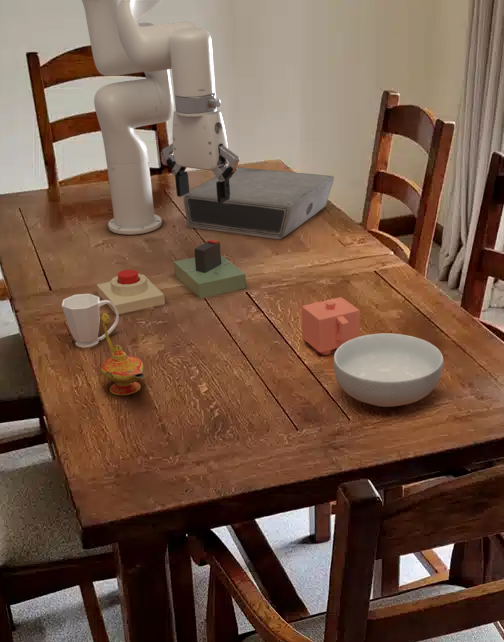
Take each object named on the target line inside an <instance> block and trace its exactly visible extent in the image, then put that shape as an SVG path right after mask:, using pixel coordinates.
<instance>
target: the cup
mask: <svg viewBox="0 0 504 642" xmlns="http://www.w3.org/2000/svg"><path fill="white" fill-rule="evenodd" d="M100 298H101V297H100V296H99V295H94V294H92V293H81V294H80V293H77V294H73V295H71V296H68V297H66V298H64V299H62V302H61V308H62V312H63V315H64V317H65V320H66V323H67V327H68V329H69V331H70V334H71V336H72V338H73V340H74V341H75V343H74V344H75V346H77V347H79V348H92V347H95V346H96V345H98V344H99V341H102V340H104V339H106V336H105V333H103V334H102V335H101V336H99V332H100V320H101V319H100V318H101V317H100V315H101V314H100V313H101V312H100V307H102V306H104V305H107V303H109V304H111V305H112V306H113V307H114V309H115V312H116V314H115V320H114V322H113V323H112V325H111V326H110V327H109V328H108V329H107V332H108V334H109V335H110V334H112V332H113V331H114V330H115V329H116V327H117V326H118V325H119V321H120V316H119V315H120V314H118V311H117V308H116V306H115V305H114V304H113V303H112V302H110V301H108V300H103V299H102V300H100Z"/></svg>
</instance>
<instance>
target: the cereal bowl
mask: <svg viewBox="0 0 504 642" xmlns="http://www.w3.org/2000/svg"><path fill="white" fill-rule="evenodd" d="M443 366H444V356H443V353H442V351H440V349H439V348H438V347H437V346H435V345H434V344H433V343H431V342H429V341H427V340H425V339H422V338H420V337H416V336H412V335H408V334H403V333H402V334H401V333H394V332H393V333H389V332H388V333H386V332H383V333H371V334H365V335H361V336H360V337H357V338H354V339H351V340H349V341H347V342H345V343H343V344H342V345H341V346H340V347H339V348H336V350H335V351H334V355H333V373H334V375H335V379H336V381H337V384H338V385H339V386H340V388H341V389H342V391H344V393H346V394H347V395H348V396H350V397H351V398H353V399H354V400H356V401H359V402H361V403H365V404H369V405H372V406H375V407H379V408H381V407H382V408H392V407H393V408H394V407H399V406H405V405H409V404H413V403H416V402H419V401H420V400H422V399H424V398H426V397H427V396H428V395H429V394H430V393H432V391H434V389H435V388H436V387H437V385H438V383H439V382H440V378H441V376H442V372H443Z"/></svg>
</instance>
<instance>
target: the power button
mask: <svg viewBox="0 0 504 642" xmlns="http://www.w3.org/2000/svg"><path fill="white" fill-rule="evenodd" d="M138 274H139V272H138V270H136V269H124V270H121V271H119V272H117V276H118V282H119V283H120V284H133V283H136V282H138V281H139V277H138Z"/></svg>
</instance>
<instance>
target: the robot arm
mask: <svg viewBox="0 0 504 642" xmlns="http://www.w3.org/2000/svg"><path fill="white" fill-rule="evenodd" d="M81 2H82V5H83V9H84V12H85V13H84V14H85V20H86V25H87V30H88V36H89V42H90V47H91V53H92V58H93V62H94V65H95V68H96V70H97V71H98V73H99V74H101V75H102V76H105V77H106V76H107V77H114V76H116V77H117V76H122V75H123V76H125V75H131V74H137V73H144V75H145V78H139V79H132V80H131V79H129V80H125V81H118V82H112V83H108V84H105V85H102V86H101V87H100V88H99V89H98V90H96V92H95V95H94V98H93V103H94V104H93V105H94V110H95V114H96V118H97V121H98V125H99V128H100V132H101V137H102V142H103V149H104V154H105V155H104V156H105V161H106V168H107V176H108V182H109V191H110V198H111V199H110V200H111V207H112V212H113V213H112V215H113V218H112V219H110V220H109V221H108V223H107V226H108V230H109V231H110V232H112V233H114V234H118V235H125V236H126V235H129V236H131V235H142V234H147V233H150V232H153V231H156V230H158V229H159V228H161V226H162V225H163V221H162V220H163V219H162V217H161V216H159V215H158V214H155V207H154V198H153V188H152V181H151V180H152V179H151V171H150V170H151V169H150V161H149V153H148V147H147V145H146V143H145V141H144V140H143V139H142V138H141V137H140V136H139V135H138V133H136V132H135V129H137V128H141V127H146V126H150V125H151V126H152V125H156V124H157V125H158V124H162V123H166V122H168V121H169V120H171V118H172V129H171V130H172V143H170V144H168V145H167V146H165V147H163V148H162V149H161V152H162V155H163V158H164V159H165V160H166V161H165V163H166V165H167V166H168V167H169V169H170V170H171V175H173V176H174V178H175V179H174V180H175V189H176V196H177V197H178V198H179V197H184V195H185V194H187V193H189V192H190V183H189V173H188V171H186V170H187V168H188V169H196V170H201V171H212V172H213V174H214V175H215V177H217V178H218V180H219V181H217V183H216V187H217V200H218V202H219V203H223V202H225V201H227V200H229V199H230V184H229V179H230V178H231V177H232V175H233V174H234V173H235V171H236V167H238V166H239V163H240V157H239V156H238V154H236V153H234V152H233V151H231V150H230V149H229V146H228V145H229V144H228V137H227V132H226V127H225V123H224V119H223V115H222V112H221V110H217V108H219V107H220V106H221V103H222V102H221V100H220V99H219V98H217V94H216V82H215V80H216V79H215V69H214V68H215V67H214V53H213V40H212V35H211V33H210V31H209V30H207V29H206V28H204V27H203V28H202V27H199V26H198V25H197V24H196V23H194V22H193V21H179V22H171V23H169V22H168V23H160V24H153V23H151V22H138V21H139V20H140V19H142V18H143V17H145V16H146V15H148V14H149V13H151V12H152V11H153V10H155V9H156V8H157V7H158V6H159V5H161V3H162V2H163V0H81ZM170 70H171V71H170ZM171 74H172V75H171ZM171 77H172V79H171ZM174 109H175V111H174ZM227 165H228V166H227Z"/></svg>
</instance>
